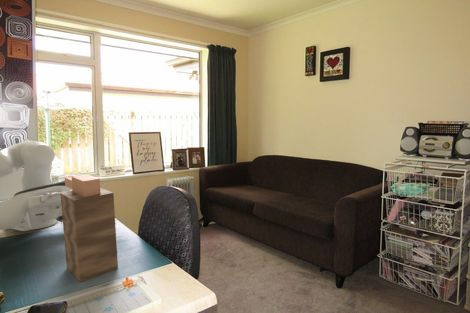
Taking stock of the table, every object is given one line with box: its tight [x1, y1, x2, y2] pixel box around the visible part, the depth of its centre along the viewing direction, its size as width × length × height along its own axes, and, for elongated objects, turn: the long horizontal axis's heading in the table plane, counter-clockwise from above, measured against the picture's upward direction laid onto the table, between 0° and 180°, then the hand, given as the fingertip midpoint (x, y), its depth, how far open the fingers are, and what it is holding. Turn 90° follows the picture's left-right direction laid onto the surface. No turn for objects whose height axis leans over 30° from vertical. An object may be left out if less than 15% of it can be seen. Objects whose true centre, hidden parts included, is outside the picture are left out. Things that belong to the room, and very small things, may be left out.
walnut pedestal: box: [60, 187, 119, 283], centre depth 102 cm, size 12×12×26 cm
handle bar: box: [64, 174, 101, 197], centre depth 103 cm, size 20×5×5 cm, turn 46°
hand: (63, 192), depth 116 cm, fingers open, 8 cm apart
